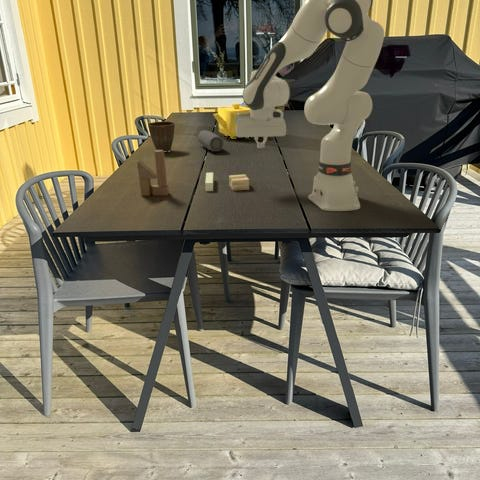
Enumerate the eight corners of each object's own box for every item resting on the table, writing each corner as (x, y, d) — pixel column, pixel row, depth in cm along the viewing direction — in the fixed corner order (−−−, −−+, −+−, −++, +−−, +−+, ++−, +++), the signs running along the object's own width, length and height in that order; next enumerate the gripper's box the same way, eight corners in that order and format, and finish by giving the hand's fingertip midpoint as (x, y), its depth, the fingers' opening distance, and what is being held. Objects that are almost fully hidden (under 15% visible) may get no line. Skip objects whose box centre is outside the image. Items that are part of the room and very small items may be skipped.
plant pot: (179, 149, 254) (177, 121, 247) (173, 154, 240) (171, 125, 234) (155, 149, 255) (152, 121, 249) (147, 154, 242) (144, 125, 235)
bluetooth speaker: (224, 152, 242) (224, 134, 238) (209, 154, 239) (208, 136, 235) (212, 145, 262) (211, 128, 258) (197, 146, 259) (196, 129, 255)
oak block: (249, 189, 179) (248, 179, 177) (232, 191, 178) (232, 180, 176) (245, 184, 186) (245, 174, 184) (229, 185, 185) (229, 175, 183)
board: (212, 190, 178) (212, 182, 176) (205, 191, 177) (205, 183, 176) (213, 180, 192) (213, 172, 191) (206, 180, 192) (206, 172, 191)
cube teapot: (205, 135, 291) (203, 102, 282) (245, 131, 302) (244, 99, 293) (225, 144, 262) (224, 108, 253) (268, 139, 273) (269, 104, 264)
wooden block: (143, 193, 177) (138, 149, 170) (169, 193, 176) (165, 149, 169) (141, 196, 174) (135, 151, 166) (167, 195, 173) (163, 151, 166)
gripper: (234, 114, 166) (235, 149, 172) (287, 113, 167) (286, 148, 173) (234, 111, 172) (235, 146, 178) (285, 110, 173) (284, 145, 179)
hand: (260, 147), depth 175 cm, fingers closed
